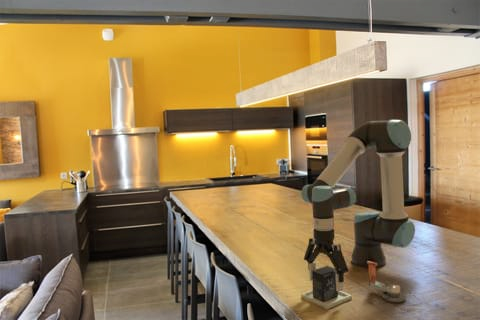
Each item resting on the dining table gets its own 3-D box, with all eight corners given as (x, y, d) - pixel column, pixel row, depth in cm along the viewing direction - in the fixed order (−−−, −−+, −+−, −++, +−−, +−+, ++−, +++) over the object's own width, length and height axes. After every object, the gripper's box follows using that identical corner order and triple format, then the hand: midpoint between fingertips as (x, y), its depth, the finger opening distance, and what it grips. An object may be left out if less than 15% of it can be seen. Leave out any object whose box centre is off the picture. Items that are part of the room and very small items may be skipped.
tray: (301, 297, 151) (301, 293, 151) (325, 288, 158) (325, 284, 158) (326, 309, 140) (326, 305, 140) (351, 299, 148) (351, 295, 147)
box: (323, 302, 145) (322, 274, 144) (312, 297, 149) (311, 270, 148) (338, 296, 149) (337, 269, 148) (327, 292, 154) (326, 265, 153)
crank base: (377, 298, 147) (377, 295, 147) (391, 292, 152) (390, 289, 151) (396, 305, 140) (396, 302, 140) (410, 299, 145) (410, 295, 145)
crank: (402, 294, 145) (402, 268, 145) (395, 298, 143) (394, 271, 142) (371, 284, 156) (371, 259, 155) (364, 287, 154) (363, 262, 153)
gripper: (293, 224, 155) (295, 277, 157) (342, 237, 135) (344, 298, 137) (307, 221, 160) (309, 273, 161) (357, 232, 139) (359, 292, 141)
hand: (325, 284), depth 149 cm, fingers open, 13 cm apart
